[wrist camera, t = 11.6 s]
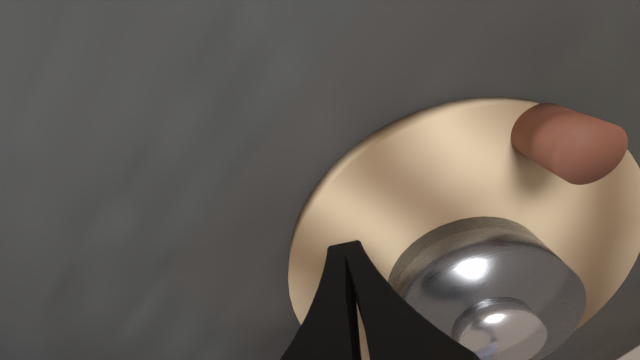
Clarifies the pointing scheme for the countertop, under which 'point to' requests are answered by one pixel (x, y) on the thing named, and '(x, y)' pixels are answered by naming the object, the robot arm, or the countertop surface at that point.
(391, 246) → the beige round shallow disc
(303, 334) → the robot arm
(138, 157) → the countertop surface
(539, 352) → the cover
